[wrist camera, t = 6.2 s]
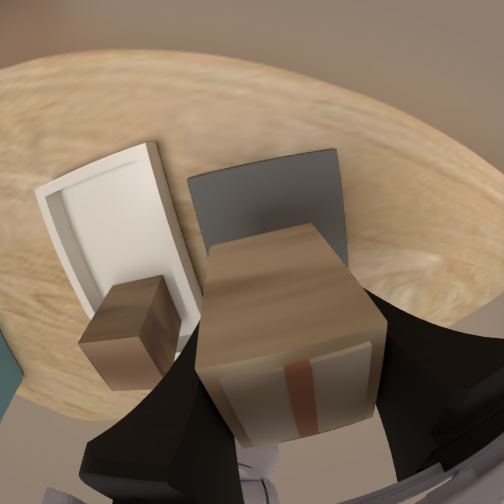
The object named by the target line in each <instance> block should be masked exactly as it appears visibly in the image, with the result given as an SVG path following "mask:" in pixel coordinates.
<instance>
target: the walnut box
mask: <svg viewBox="0 0 504 504" xmlns="http://www.w3.org/2000/svg"><path fill="white" fill-rule="evenodd" d="M181 323H182V321H181V318H180V316H179V314H178V311H177V309H176V307H175V304H174V302H173V300H172V297H171V295H170V292H169V290H168V287H167V285H166V282H165V280H164V277H163V275H158V276H154V277H149V278H144V279H140V280H135V281H131V282H126V283H121V284H117V285H112V287H111V289H110V290H109V292H108V293H107V295H106V297H105V298H104V300H103V301H102V303H101V305H100V306H99V308H98V310H97V311H96V313H95V315H94V316H93V318H92V320H91V321H90V323H89V325H88V326H87V328H86V330H85V332H84V333H83V335H82V337H81V339H80V341H79V342H78V344H79V346H80V347H81V349H82V350H83V352H84V353H85V355H86V356H87V358H88V359H89V361H90V362H91V364H92V365H93V366H94V368H95V369H96V370H97V372H98V373H99V375H100V376H101V377H102V379H103V380H104V381H105V382H106V384H107V385H108V386H109V388H110V389H111V390H112V391H126V390H147V389H154V388H155V387H156V386H157V384H158V383H159V382H160V381H161V380H162V378H163V377H164V376H165V375H166V373H167V372H168V371H169V369H170V368H171V366H172V365H173V363H174V359H175V354H176V349H177V344H178V338H179V333H180V328H181Z"/></svg>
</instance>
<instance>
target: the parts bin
mask: <svg viewBox="0 0 504 504" xmlns="http://www.w3.org/2000/svg"><path fill="white" fill-rule="evenodd" d="M35 194H36V197H37V200H38V203H39V206H40V209H41V212H42V215H43V218H44V221H45V223H46V226H47V229H48V231H49V234H50V237H51V239H52V242H53V244H54V247H55V249H56V251H57V254H58V256H59V258H60V261H61V263H62V265H63V267H64V270H65V272H66V274H67V276H68V278H69V280H70V282H71V284H72V286H73V288H74V290H75V292H76V294H77V296H78V298H79V300H80V302H81V304H82V306H83V308H84V310H85V311H86V313H87V315H88V317H89V319H90V320H92V318H93V316H94V315H95V313H96V311H97V310H98V308H99V306H100V305H101V303H102V301H103V300H104V298H105V297H106V295H107V293H108V292H109V290H110V289H111V287H112V285H117V284H121V283H126V282H131V281H135V280H140V279H144V278H149V277H154V276H158V275H163V277H164V280H165V282H166V285H167V287H168V290H169V292H170V295H171V297H172V300H173V302H174V304H175V307H176V309H177V311H178V314H179V316H180V318H181V321H182V323H181V328H180V333H179V338H178V344H177V349H176V354H175V359H174V360H176V359H177V357H178V356H179V354H180V353H181V351H182V350H183V348H184V346H185V345H186V343H187V341H188V340H189V338H190V336H191V334H192V333H193V331H194V329H195V327H196V326H197V324H198V322H199V320H200V317H201V309H202V301H203V295H202V292H201V289H200V286H199V283H198V281H197V278H196V275H195V272H194V269H193V266H192V263H191V260H190V257H189V254H188V251H187V247H186V244H185V241H184V238H183V235H182V232H181V228H180V225H179V222H178V219H177V215H176V212H175V209H174V205H173V202H172V198H171V195H170V191H169V188H168V184H167V181H166V177H165V173H164V170H163V166H162V162H161V159H160V155H159V151H158V147H157V143H156V141H153V142H147V143H143V144H140V145H137V146H134V147H132V148H129V149H126V150H123V151H121V152H118V153H115V154H113V155H110V156H107V157H105V158H102V159H100V160H97V161H95V162H93V163H90V164H88V165H85V166H83V167H81V168H79V169H76V170H74V171H72V172H70V173H67V174H65V175H63V176H61V177H59V178H57V179H55V180H53V181H51V182H49V183H47V184H45V185H43V186H41V187H39V188H37V189H35Z"/></svg>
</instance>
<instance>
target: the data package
mask: <svg viewBox="0 0 504 504" xmlns="http://www.w3.org/2000/svg"><path fill="white" fill-rule="evenodd" d="M21 381H22V371H21V368H20V366H19V365H18V363H17V361H16V360H15V358H14V356H13V354H12V352H11V351H10V349H9V347H8V345H7V343H6V341H5V339H4V337H3V335H2V333H1V331H0V422H1V420H2V418H3V416H4V414H5V412H6V410H7V408H8V406H9V404H10V402H11V400H12V398H13V396H14V394H15V392H16V391H17V389H18V387H19V385H20V383H21Z"/></svg>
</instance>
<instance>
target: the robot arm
mask: <svg viewBox="0 0 504 504" xmlns="http://www.w3.org/2000/svg"><path fill="white" fill-rule="evenodd" d="M362 288H363V287H362ZM363 289H364V288H363ZM364 290H365V292H366V293H367V294H368V296H369V297H370V298H371V300H372V301H373V302H374V304H375V305H376V306H377V308H378V309H379V311H380V312H381V313H382V315H383V316H384V318H385V319H386V320H387V332H386V341H385V349H384V357H383V364H382V370H381V377H380V383H379V388H378V394H377V399H376V406H377V409H378V412H379V414H380V418H381V421H382V424H383V427H384V430H385V433H386V436H387V440H388V443H389V447H390V450H391V454H392V458H393V463H394V467H395V471H396V476H397V481H398V483H395V484H393V485H390V486H388V487H385V488H383V489H381V490H378V491H375V492H372V493H370V494H367V495H364V496H361V497H358V498H354V499H351V500H348V501H344V502H341V503H338V504H398V503H400V502H403V501H405V500H407V499H410V498H412V497H414V496H416V495H418V494H420V493H422V492H424V491H426V490H428V489H430V488H432V487H434V486H436V485H438V484H439V483H441V482H443V481H445V480H446V479H448V478H450V477H451V476H453V475H454V476H453V477H452V479H451V480H449V481H448V482H446V483H445V484H443V485H441V486H440V487H438V488H436V489H435V490H433V491H431V492H429V493H428V494H427V495H426V496H425V497H424V498H423V499H421V500H420V501H418V502H416V503H415V504H503V503H504V339H501V338H490V337H482V336H477V335H471V334H466V333H462V332H458V331H454V330H451V329H448V328H444V327H441V326H438V325H435V324H432V323H430V322H427V321H425V320H422V319H420V318H417V317H415V316H413V315H411V314H409V313H407V312H405V311H403V310H401V309H399V308H397V307H395V306H393V305H391V304H389V303H388V302H386V301H384V300H383V299H381V298H379V297H377V296H376V295H374V294H372V293H371V292H369V291H368V290H366V289H364ZM199 325H200V320H199V322H198V324H197V326H196V327H195V329H194V331H193V333H192V334H191V336H190V338H189V340H188V341H187V343H186V345H185V346H184V348H183V350H182V351H181V353H180V354H179V356H178V357H177V359H176V360H175V362H174V363H173V365H172V366H171V368H170V369H169V371H168V372H167V373H166V375H165V376H164V377H163V378H162V380H161V381H160V382H159V383H158V384H157V386H156V387H155V388H154V389H153V390H152V391H151V392H150V393H149V394H148V395H147V396H146V397H145V398H144V399H143V400H142V401H141V402H140V403H139V404H138V405H137V406H136V407H135V408H134V409H133V410H132V411H131V412H130V413H128V414H127V415H126V416H125V417H124V418H123V419H121V420H120V421H119V422H117V423H116V424H115V425H113V426H112V427H111V428H109V429H108V430H106V431H105V432H103V433H102V434H100V435H99V436H97V437H96V438H94V439H93V440H91V441H89V442H88V443H87V445H86V449H85V452H84V456H83V460H82V464H81V467H80V471H79V477H80V479H81V480H82V481H83V482H84V483H85V484H87V485H88V486H90V487H91V488H93V489H94V490H96V491H98V492H100V493H101V494H103V495H105V496H107V497H109V498H111V499H112V500H113V503H112V504H279V498H278V494H277V490H276V488H275V486H274V485H273V483H271V482H270V480H269V479H268V478H267V477H268V476H269V475H270V474H271V473H272V472H273V470H274V469H275V467H276V464H277V459H278V444H277V443H276V444H270V445H264V446H258V447H252V448H244V449H243V448H242V447H241V445H240V444H239V442H238V441H237V439H236V438H235V436H234V435H233V433H232V431H231V430H230V428H229V427H228V425H227V424H226V422H225V420H224V419H223V417H222V415H221V414H220V412H219V411H218V409H217V407H216V405H215V404H214V402H213V400H212V399H211V397H210V395H209V394H208V392H207V390H206V388H205V387H204V385H203V383H202V381H201V379H200V378H199V376H198V374H197V372H196V370H195V361H196V352H197V343H198V334H199ZM42 504H87V503H84V502H83V501H81V500H80V499H78V498H76V497H74V496H72V495H70V494H67V493H64V492H62V491H59V490H56V489H53V488H50V487H46V490H45V494H44V498H43V502H42Z"/></svg>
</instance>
